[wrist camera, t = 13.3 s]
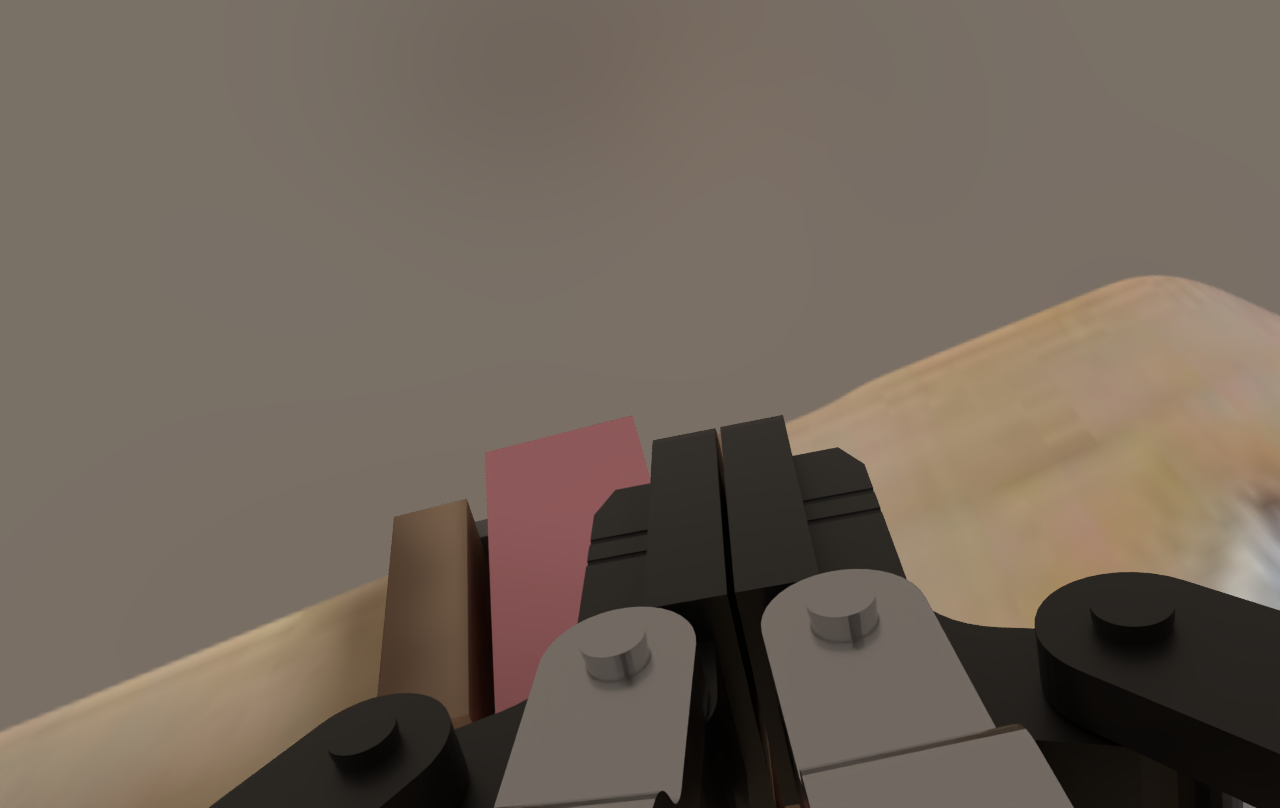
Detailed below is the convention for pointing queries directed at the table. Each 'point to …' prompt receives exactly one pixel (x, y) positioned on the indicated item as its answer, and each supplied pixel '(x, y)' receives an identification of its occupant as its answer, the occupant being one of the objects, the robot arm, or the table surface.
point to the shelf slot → (445, 614)
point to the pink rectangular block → (547, 538)
